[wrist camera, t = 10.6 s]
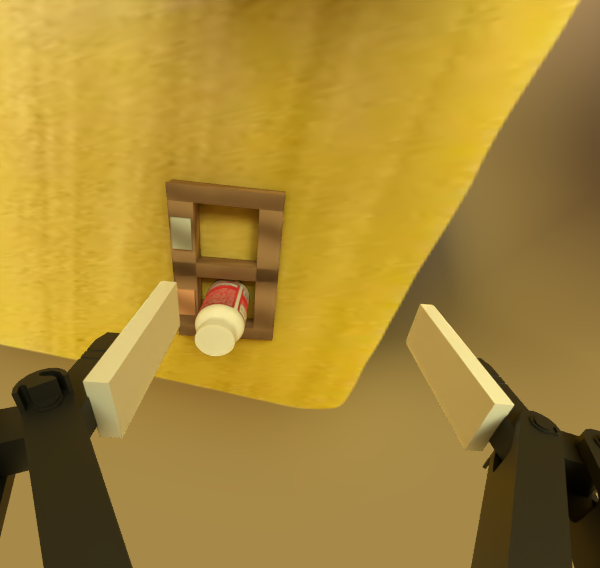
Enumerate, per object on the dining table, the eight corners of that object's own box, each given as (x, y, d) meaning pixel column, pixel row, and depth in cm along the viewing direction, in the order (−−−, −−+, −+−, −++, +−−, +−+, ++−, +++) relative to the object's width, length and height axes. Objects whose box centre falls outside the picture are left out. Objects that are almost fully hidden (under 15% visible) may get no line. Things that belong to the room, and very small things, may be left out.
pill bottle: (200, 294, 44) (176, 341, 34) (227, 269, 42) (210, 310, 33) (231, 319, 46) (218, 369, 37) (258, 295, 45) (252, 341, 35)
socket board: (172, 179, 37) (164, 183, 34) (285, 191, 38) (285, 196, 35) (183, 325, 46) (178, 336, 44) (272, 330, 48) (272, 341, 45)
